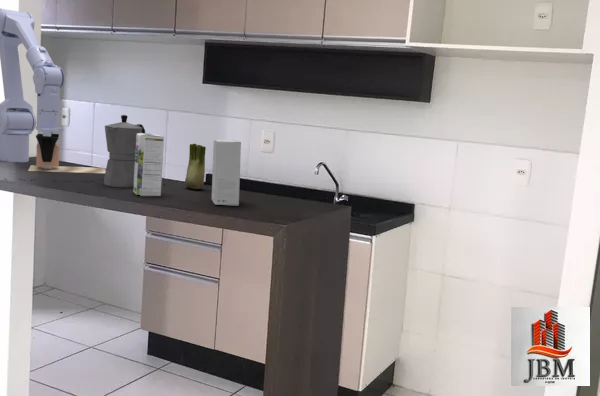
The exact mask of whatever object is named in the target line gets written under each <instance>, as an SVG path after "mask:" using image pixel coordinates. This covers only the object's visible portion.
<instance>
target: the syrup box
mask: <svg viewBox="0 0 600 396" xmlns="http://www.w3.org/2000/svg"><path fill="white" fill-rule="evenodd" d="M164 142H165V136H162V135H160V134H155V133H149V132H145V133H137V135H136V153H135V168H134V187H133V188H132V191H133V193H134V194H135V195H136V196H137V195H140V196H139V197H161V196H162V182H163V181H162V180H163V164H164V163H163V161H164V147H165V145H164V144H165V143H164Z"/></svg>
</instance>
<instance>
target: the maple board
mask: <svg viewBox="0 0 600 396" xmlns="http://www.w3.org/2000/svg"><path fill="white" fill-rule="evenodd" d="M27 171H28V172H51V173H76V174H77V173H81V174H84V173H85V174H104V175H105V172H106V168H105V167H94V166H93V167H90V166H89V167H88V166H87V167H85V166H64V165H63V166H60V165H59V166H58V167H53V166H52V169H42V166H36V164H31V165H30V166H29V168H28V169H27Z"/></svg>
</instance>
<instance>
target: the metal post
mask: <svg viewBox="0 0 600 396" xmlns="http://www.w3.org/2000/svg"><path fill="white" fill-rule="evenodd" d="M42 169H52V166H42Z"/></svg>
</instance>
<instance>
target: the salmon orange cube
mask: <svg viewBox="0 0 600 396" xmlns="http://www.w3.org/2000/svg"><path fill="white" fill-rule="evenodd" d="M35 159H36V161H35V162H36V164H35V165H36V166H53V167H58V166H60V164H59V163H60V161H59V160H60V144H57V143H56V144H55V147H54V151H53V156H52V160H51V162H43V160H42V156H41V149H40V145H39V143H38V142H37V144H36V158H35Z"/></svg>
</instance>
